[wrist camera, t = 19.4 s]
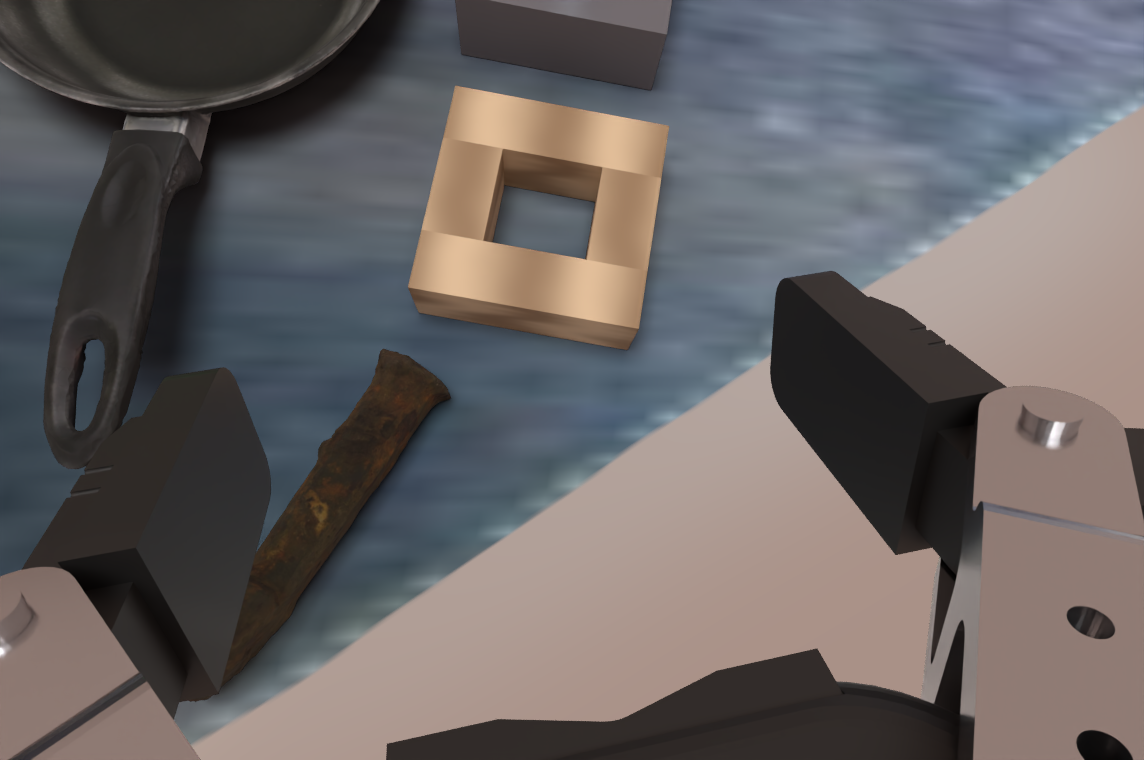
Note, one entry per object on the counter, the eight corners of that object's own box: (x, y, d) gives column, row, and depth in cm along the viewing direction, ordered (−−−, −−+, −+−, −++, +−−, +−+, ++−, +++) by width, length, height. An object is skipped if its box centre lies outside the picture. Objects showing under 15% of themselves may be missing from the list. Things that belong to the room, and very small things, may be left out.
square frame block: (418, 312, 41) (408, 287, 37) (461, 127, 44) (455, 85, 40) (627, 350, 41) (638, 328, 37) (655, 163, 44) (668, 126, 40)
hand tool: (397, 356, 40) (381, 332, 36) (456, 396, 40) (447, 376, 35) (168, 659, 36) (116, 674, 31) (232, 706, 36) (189, 728, 31)
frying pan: (43, -196, 47) (-34, -317, 41) (430, -162, 49) (416, -273, 42) (-129, 472, 37) (-270, 455, 30) (368, 490, 38) (336, 477, 32)
